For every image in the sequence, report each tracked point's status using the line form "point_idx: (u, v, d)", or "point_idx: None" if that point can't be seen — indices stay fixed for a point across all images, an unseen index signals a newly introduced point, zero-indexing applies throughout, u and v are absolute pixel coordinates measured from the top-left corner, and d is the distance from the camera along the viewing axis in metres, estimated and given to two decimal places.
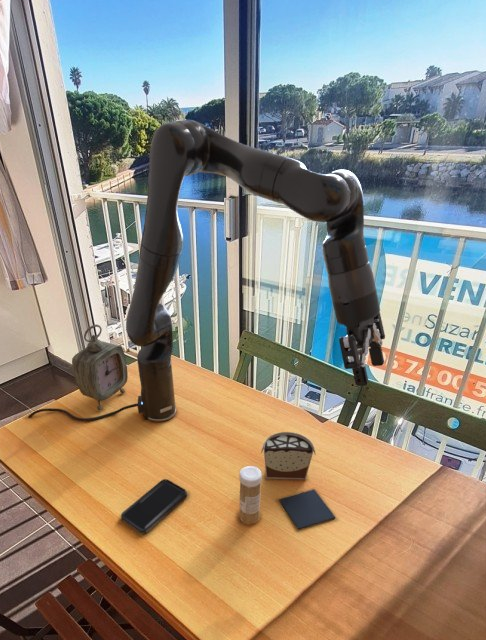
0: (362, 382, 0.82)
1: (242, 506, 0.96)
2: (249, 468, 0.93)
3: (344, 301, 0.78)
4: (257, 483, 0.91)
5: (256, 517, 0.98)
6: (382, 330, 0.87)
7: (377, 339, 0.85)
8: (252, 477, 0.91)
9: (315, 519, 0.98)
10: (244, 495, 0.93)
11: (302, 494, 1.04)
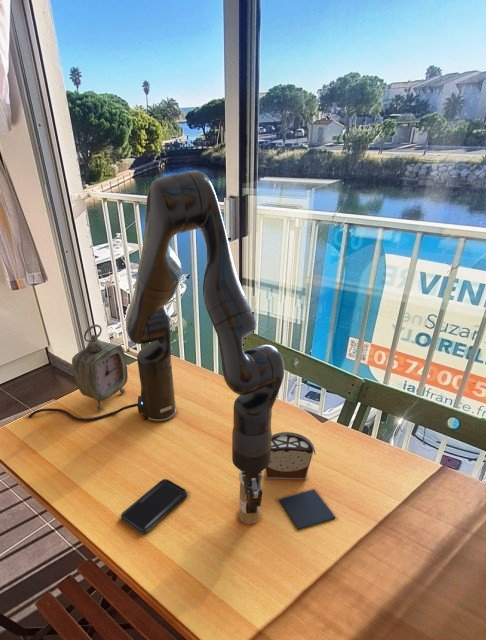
0: (254, 512, 0.94)
1: (242, 506, 0.96)
2: None
3: (253, 456, 0.85)
4: None
5: (256, 517, 0.98)
6: None
7: None
8: None
9: (315, 519, 0.98)
10: (244, 495, 0.93)
11: (302, 494, 1.04)
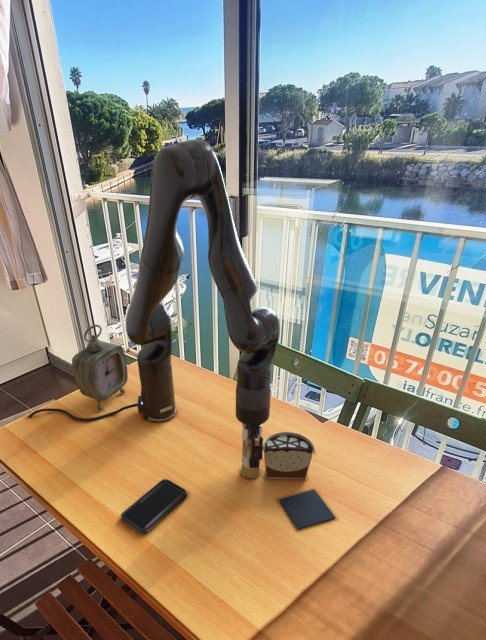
0: (257, 466, 1.03)
1: (245, 462, 1.07)
2: None
3: (255, 410, 0.96)
4: None
5: (257, 472, 1.09)
6: None
7: None
8: None
9: (315, 519, 0.98)
10: (246, 450, 1.05)
11: (302, 494, 1.04)
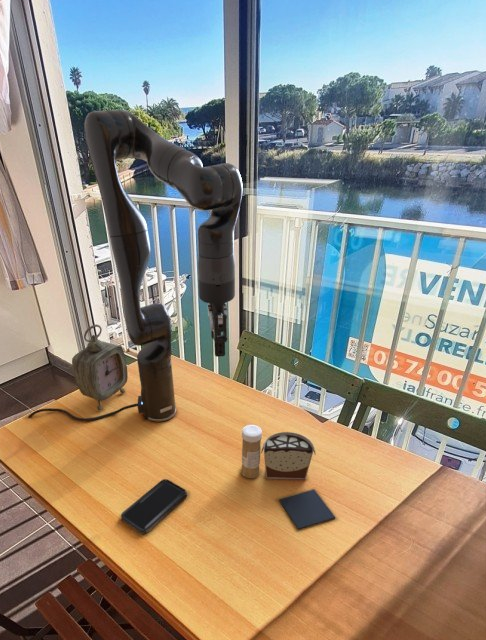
0: (222, 353, 0.97)
1: (245, 462, 1.07)
2: (250, 426, 1.04)
3: (217, 283, 0.89)
4: (258, 439, 1.02)
5: (257, 472, 1.09)
6: None
7: None
8: (253, 433, 1.02)
9: (315, 519, 0.98)
10: (246, 450, 1.05)
11: (302, 494, 1.04)
